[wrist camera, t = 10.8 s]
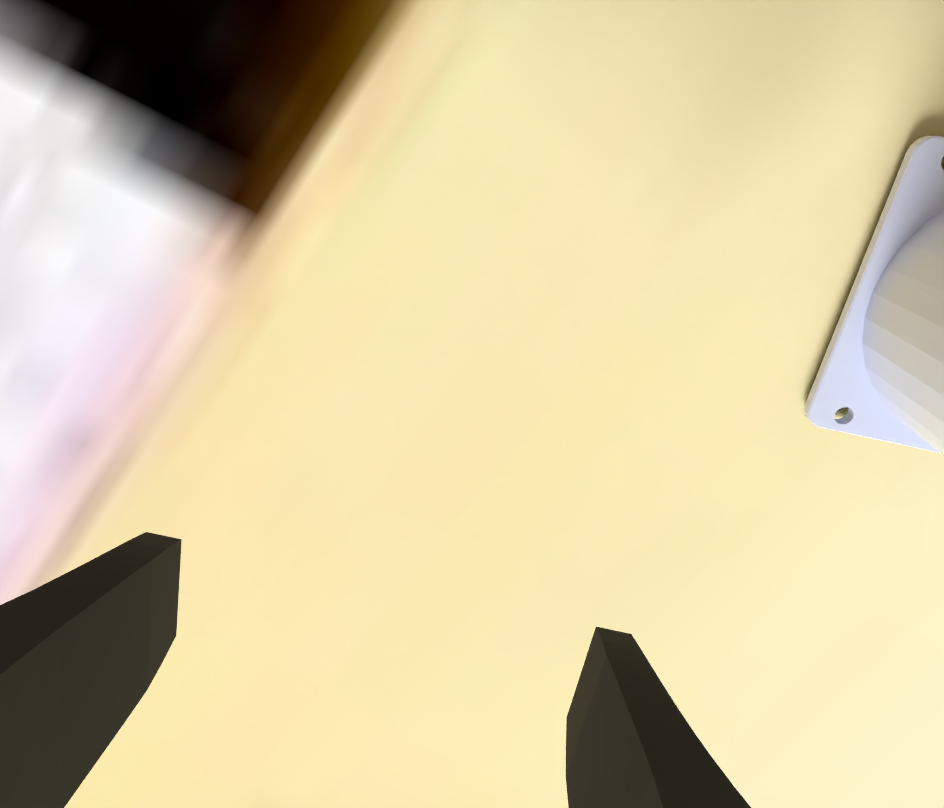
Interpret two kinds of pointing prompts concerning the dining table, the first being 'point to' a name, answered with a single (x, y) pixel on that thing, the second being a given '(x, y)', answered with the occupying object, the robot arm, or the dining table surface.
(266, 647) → the dining table surface
